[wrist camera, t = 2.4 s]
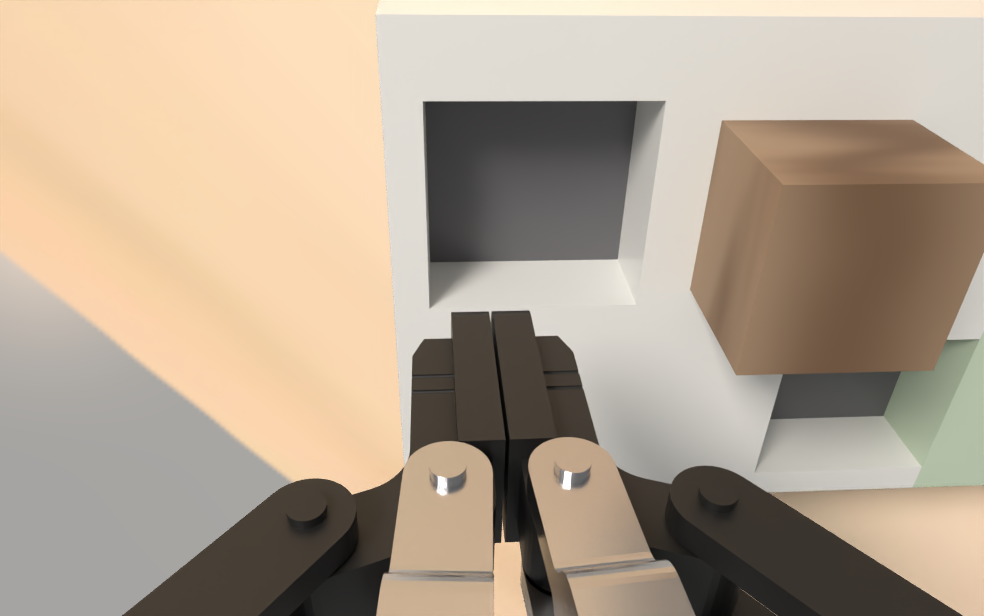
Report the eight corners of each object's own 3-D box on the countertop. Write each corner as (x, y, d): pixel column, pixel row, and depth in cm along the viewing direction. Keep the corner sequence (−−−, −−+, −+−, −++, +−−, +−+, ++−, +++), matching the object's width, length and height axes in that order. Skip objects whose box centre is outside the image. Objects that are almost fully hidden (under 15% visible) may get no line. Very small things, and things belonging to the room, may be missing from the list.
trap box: (1279, -5, 21) (1488, 39, 17) (1042, 425, 30) (1141, 524, 26) (383, -11, 20) (368, 35, 15) (409, 444, 28) (404, 552, 24)
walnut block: (912, 119, 19) (1013, 182, 16) (857, 286, 22) (933, 370, 19) (722, 120, 19) (783, 185, 16) (689, 289, 22) (736, 375, 18)
